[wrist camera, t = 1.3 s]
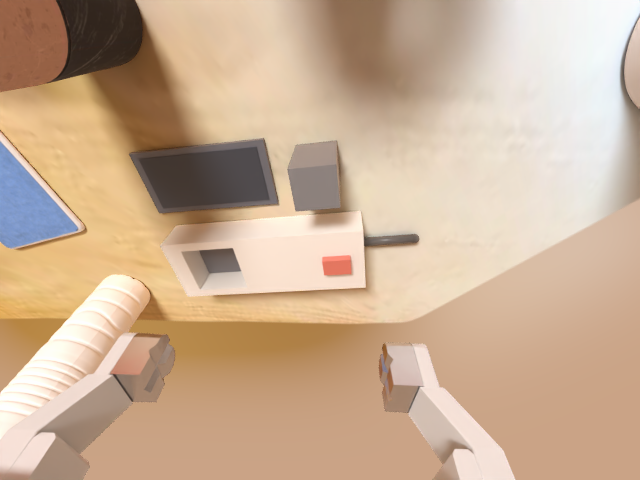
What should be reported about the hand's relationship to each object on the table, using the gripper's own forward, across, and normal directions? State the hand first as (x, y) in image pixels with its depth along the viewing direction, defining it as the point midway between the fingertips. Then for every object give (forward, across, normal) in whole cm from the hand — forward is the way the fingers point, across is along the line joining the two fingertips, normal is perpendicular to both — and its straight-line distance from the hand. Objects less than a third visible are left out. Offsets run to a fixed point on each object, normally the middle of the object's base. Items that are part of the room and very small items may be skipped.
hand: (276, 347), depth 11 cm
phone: (+23, +11, +3) cm, 25 cm away
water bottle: (+23, +26, +20) cm, 40 cm away
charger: (+22, -1, +1) cm, 22 cm away
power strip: (+22, +1, +11) cm, 25 cm away
